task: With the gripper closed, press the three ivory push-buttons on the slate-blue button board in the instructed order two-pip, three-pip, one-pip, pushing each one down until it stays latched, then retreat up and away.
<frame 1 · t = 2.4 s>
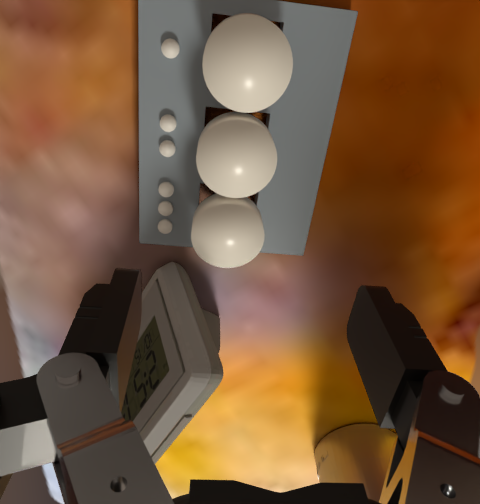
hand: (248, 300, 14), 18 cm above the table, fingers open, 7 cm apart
digital clock: (153, 330, 38), on the table
button 2: (235, 151, 26), point 3 cm above the table, slide at 0.0 cm
button board: (233, 135, 29), on the table
button 3: (227, 224, 29), point 3 cm above the table, slide at 0.0 cm
button 1: (245, 61, 23), point 3 cm above the table, slide at 0.0 cm
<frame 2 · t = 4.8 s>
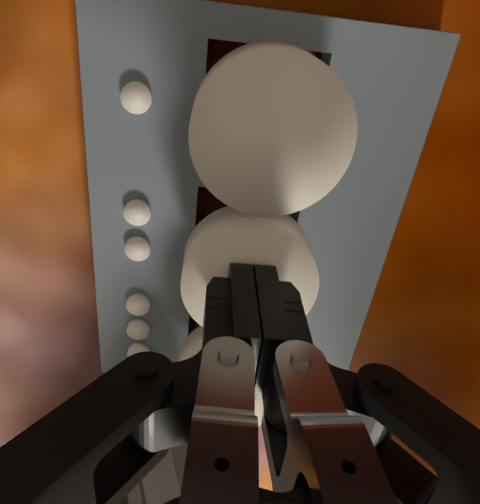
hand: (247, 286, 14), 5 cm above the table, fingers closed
digital clock: (129, 460, 27), on the table
button 2: (247, 261, 16), point 3 cm above the table, slide at 0.0 cm, touching gripper
button board: (242, 220, 19), on the table
button 3: (232, 361, 18), point 3 cm above the table, slide at 0.0 cm
button 1: (267, 124, 13), point 3 cm above the table, slide at 0.0 cm
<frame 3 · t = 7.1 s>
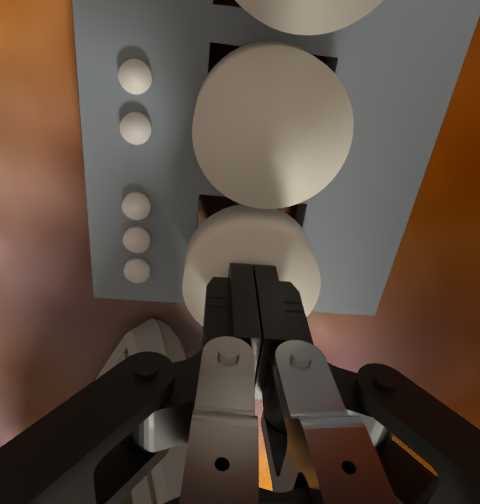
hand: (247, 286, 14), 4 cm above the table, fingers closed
digital clock: (126, 414, 24), on the table
button 2: (267, 120, 14), point 2 cm above the table, slide at 1.2 cm
button board: (261, 105, 16), on the table
button 3: (248, 262, 16), point 3 cm above the table, slide at 0.6 cm, touching gripper
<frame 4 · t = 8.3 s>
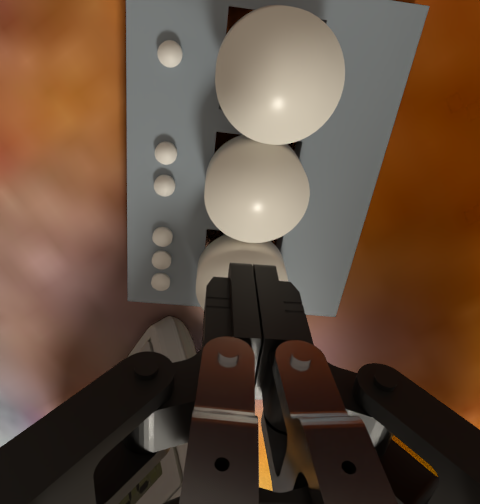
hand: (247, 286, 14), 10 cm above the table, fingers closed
digital clock: (144, 392, 31), on the table
button 2: (254, 182, 20), point 2 cm above the table, slide at 1.2 cm
button board: (251, 167, 22), on the table
button 3: (241, 271, 23), point 2 cm above the table, slide at 1.2 cm
button 1: (275, 73, 17), point 3 cm above the table, slide at 0.0 cm
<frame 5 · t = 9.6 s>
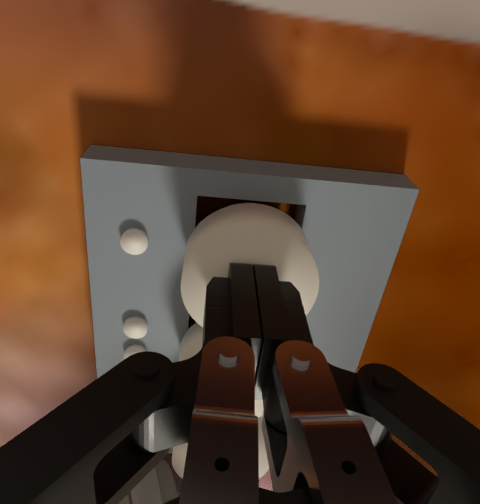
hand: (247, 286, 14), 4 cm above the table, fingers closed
button 2: (232, 354, 19), point 2 cm above the table, slide at 1.2 cm
button board: (231, 322, 21), on the table
button 3: (222, 428, 21), point 2 cm above the table, slide at 1.2 cm
button 1: (247, 261, 16), point 3 cm above the table, slide at 0.8 cm, touching gripper
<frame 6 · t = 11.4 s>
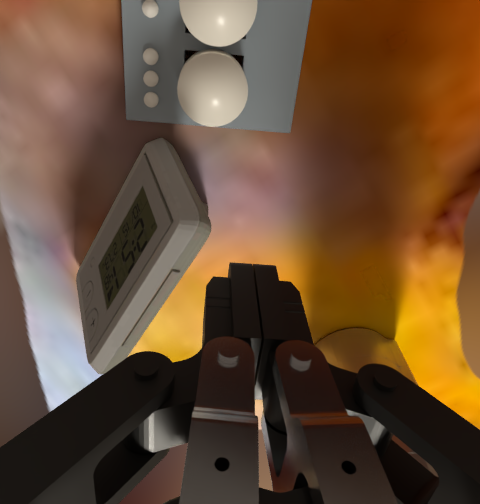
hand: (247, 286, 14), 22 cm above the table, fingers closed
digital clock: (141, 220, 38), on the table
button 2: (218, 1, 27), point 2 cm above the table, slide at 1.2 cm
button 3: (212, 85, 30), point 2 cm above the table, slide at 1.2 cm
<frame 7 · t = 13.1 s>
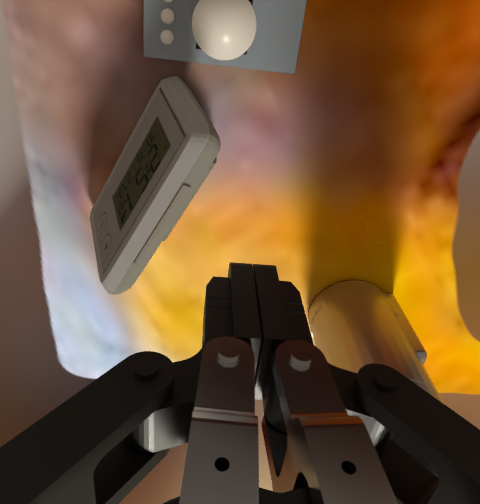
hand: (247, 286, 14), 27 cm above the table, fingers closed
digital clock: (153, 161, 40), on the table
button 3: (224, 23, 32), point 2 cm above the table, slide at 1.2 cm
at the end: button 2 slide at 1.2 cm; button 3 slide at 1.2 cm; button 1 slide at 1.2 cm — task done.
